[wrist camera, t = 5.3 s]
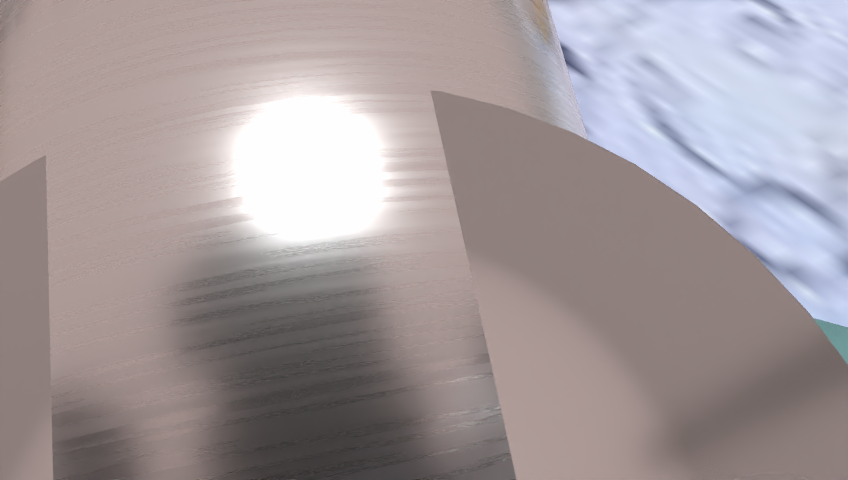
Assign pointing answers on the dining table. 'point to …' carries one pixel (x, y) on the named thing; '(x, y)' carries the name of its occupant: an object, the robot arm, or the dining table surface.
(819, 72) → the dining table surface
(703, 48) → the dining table surface
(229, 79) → the metal bottle
